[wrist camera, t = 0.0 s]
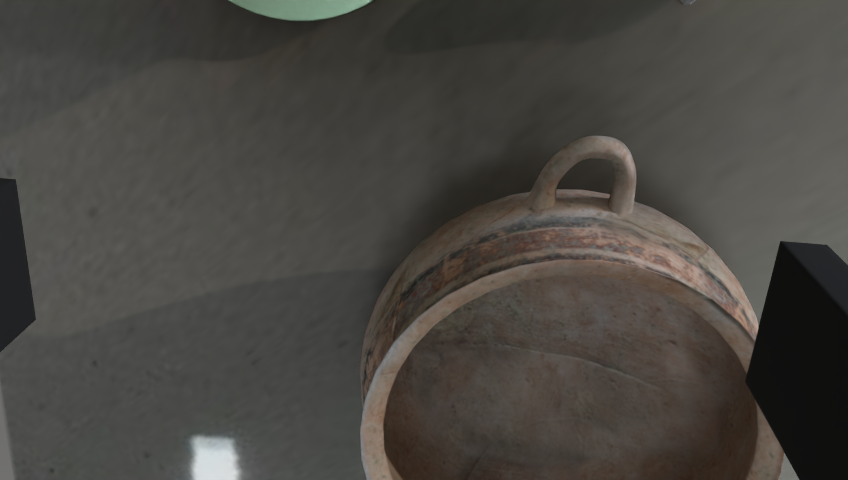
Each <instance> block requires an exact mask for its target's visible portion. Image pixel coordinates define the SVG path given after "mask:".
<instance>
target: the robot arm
mask: <svg viewBox="0 0 848 480" xmlns="http://www.w3.org/2000/svg"><path fill="white" fill-rule="evenodd" d="M35 320H36V318H35V311H34V304H33V297H32V290H31V283H30V276H29V269H28V262H27V255H26V248H25V241H24V234H23V227H22V220H21V213H20V206H19V199H18V192H17V185H16V179H3V178H0V352H1V351H2V350H3V349H4V348H5V347H6V346H7V345H8V344H9V343H11V342H12V341H13V340H14V339H15V338H16V337H17V336H18V335H19V334H20V333H21V332H23V331H24V330H25V329H26V328H27V327H28V326H29V325H30V324H31V323H32V322H33V321H35ZM745 382H746V384H747V386H748V388H749V390H750V391H751V393H752V395H753V397H754V399H755V400H756V402H757V404H758V406H759V408H760V409H761V411H762V413H763V415H764V417H765V418H766V420H767V422H768V424H769V426H770V427H771V429H772V431H773V433H774V435H775V436H776V438H777V440H778V442H779V444H780V445H781V447H782V449H783V451H784V453H785V454H786V456H787V458H788V460H789V462H790V463H791V465H792V467H793V469H794V471H795V472H796V474H797V476H798V478H799V480H848V265H847V264H846V263H845V262H844V261H843V260H842V259H841V258H840V257H839V256H838V255H837V254H836V253H835V252H834V251H833V250H832V249H831V248H829V247H828V246H827V245H821V244H809V243H796V242H784V241H780V245H779V249H778V253H777V257H776V261H775V265H774V269H773V273H772V277H771V281H770V285H769V289H768V293H767V296H766V300H765V304H764V308H763V312H762V316H761V320H760V324H759V328H758V332H757V336H756V340H755V344H754V348H753V352H752V356H751V360H750V364H749V368H748V372H747V376H746V380H745Z"/></svg>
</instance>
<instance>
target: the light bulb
mask: <svg viewBox="0 0 848 480" xmlns="http://www.w3.org/2000/svg"><path fill="white" fill-rule="evenodd" d="M680 1H681V3H682V4H686V5H688V4H692V3H693V2H694V1H695V0H680Z"/></svg>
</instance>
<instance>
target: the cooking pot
mask: <svg viewBox="0 0 848 480" xmlns="http://www.w3.org/2000/svg"><path fill="white" fill-rule="evenodd" d="M589 158H599V159H607V160H610V161H612V165H613V170H614V182H613V187H612V191H611V194H605V193H599V192H593V191H588V190H570V189H557V185H558V183H559V182H560V180H561V178H562V177H563V176H564V175H565V173H566V172H567V171H568V170H569V169H570V168H571V167H573V166H574V165H575V164H576V163H578V162H580V161H582V160H584V159H589ZM635 190H636V168H635V164H634V161H633V158H632V155H631V153H630V151H629V149H628V148H627V147H626V145H625V144H623V143H622V142H621V141H619V140H617V139H615V138H611V137H606V136H587V137H583V138H580V139H577V140H575V141H573V142H571V143H569V144H567V145H566V146H565V147H563V148H562V149H561V150H559V151H558V152H557V153H556V154H555V155H554V156H553V157H552V158H551V159H550V160H549V161H548V162H547V163H546V165H545V166H544V168H543V169H542V171H541V173H540V174H539V176H538V178H537V180H536V182H535V184H534V186H533V188H532V190H531V192H526V193H520V194H514V195H509V196H506V197H503V198H500V199H497V200H494V201H491V202H488V203H485V204H482V205H479V206H476V207H474V208H473V209H471V210H469V211H467V212H465V213H463V214H461V215H459V216H457V217H456V218H454V219H452V220H450V221H448V222H446V223H445V224H443V225H442V226H441V227H439V228H438V229H437V230H436V231H434V232H433V233H432V234H430V235H429V236H428V237H427V238H425V239H424V240H423V241H421V242H420V243H419V244H418V245H417V246H416V247H415V248H414V249H413V250H412V252H411V253H410V254H409V255H408V256H407V257H406V258H405V259H404V260H403V262H402V263H401V264H400V265H399V266H398V267H397V268H396V269H395V271H394V272H393V274H392V276H391V277H390V279H389V281H388V282H387V284H386V286H385V287H384V289H383V291H382V292H381V294H380V296H379V297H378V299H377V301H376V304H375V307H374V310H373V312H372V315H371V318H370V321H369V323H368V326H367V329H366V332H365V336H364V342H363V349H362V356H361V363H360V381H361V400H362V406H363V414H362V420H361V427H360V442H361V460H362V464H363V468H364V471H365V475H366V479H367V480H778V478H779V475H780V473H781V467H782V462H783V457H784V451H783V449H782V447H781V445H780V444H779V442H778V440H777V438H776V436H775V435H774V433H773V431H772V429H771V427H770V426H769V424H768V422H767V420H766V418H765V417H764V415H763V413H762V411H761V409H760V408H759V406H758V404H757V402H756V400H755V399H754V397H753V395H752V393H751V391H750V390H749V388H748V386H747V384H746V382H745V380H746V376H747V372H748V368H749V364H750V360H751V356H752V352H753V348H754V344H755V340H756V336H757V332H758V328H759V326H758V322H757V318H756V315H755V313H754V311H753V309H752V307H751V305H750V303H749V301H748V299H747V297H746V295H745V293H744V291H743V289H742V287H741V285H740V283H739V282H738V280H737V279H736V278H735V276H734V275H733V274H732V273H731V271H730V270H729V269H728V267H727V266H726V265H725V264H724V262H723V261H722V260H721V259H720V257H719V256H718V255H717V254H716V252H715V251H714V250H713V249H712V248H710V247H709V246H708V245H707V244H706V243H705V242H703V241H702V240H701V239H700V238H699V237H698V236H696V235H695V234H694V233H693V232H692V231H691V230H689V229H688V228H687V227H686V226H684V225H682V224H680V223H679V222H677V221H675V220H673V219H672V218H670V217H668V216H666V215H665V214H663V213H661V212H659V211H658V210H656V209H654V208H652V207H649V206H646V205H643V204H640V203H638V202H635V201H634V198H635Z"/></svg>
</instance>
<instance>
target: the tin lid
mask: <svg viewBox="0 0 848 480" xmlns="http://www.w3.org/2000/svg"><path fill="white" fill-rule="evenodd" d="M228 1H230V2H232V3H233V4H235V5H237V6H239V7H241V8H244V9H246V10H248V11H251V12H253V13H255V14H259V15H262V16H266V17H270V18H273V19H280V20H287V21H318V20H325V19H331V18H335V17H338V16H342V15H346V14H349V13H351V12H353V11H355V10H358V9H360V8H362V7H365V6H366V5H368V4H370V3H371V2H373V1H375V0H228Z"/></svg>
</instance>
